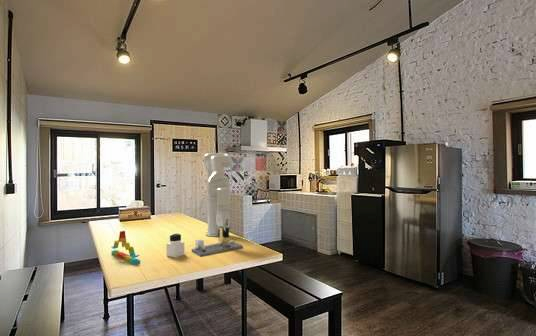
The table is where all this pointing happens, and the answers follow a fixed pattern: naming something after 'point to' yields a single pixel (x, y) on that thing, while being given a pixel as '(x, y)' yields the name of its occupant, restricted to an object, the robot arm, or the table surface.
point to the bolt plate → (214, 247)
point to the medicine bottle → (175, 246)
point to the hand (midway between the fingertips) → (223, 236)
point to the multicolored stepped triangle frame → (122, 255)
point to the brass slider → (222, 239)
